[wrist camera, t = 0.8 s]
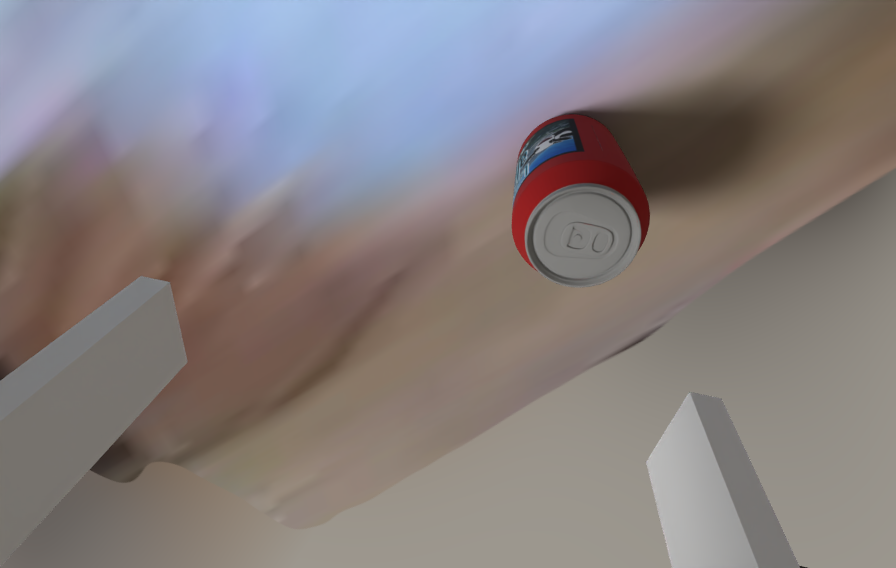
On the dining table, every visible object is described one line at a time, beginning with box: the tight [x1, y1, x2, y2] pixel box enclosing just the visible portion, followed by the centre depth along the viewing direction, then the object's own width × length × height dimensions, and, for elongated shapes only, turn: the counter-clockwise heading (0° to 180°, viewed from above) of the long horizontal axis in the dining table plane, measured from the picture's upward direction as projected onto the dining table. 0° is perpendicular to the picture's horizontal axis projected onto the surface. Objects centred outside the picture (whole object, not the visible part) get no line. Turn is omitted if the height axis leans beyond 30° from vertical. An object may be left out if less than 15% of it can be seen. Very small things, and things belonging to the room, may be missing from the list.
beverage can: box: [512, 114, 650, 287], centre depth 27 cm, size 7×7×12 cm
